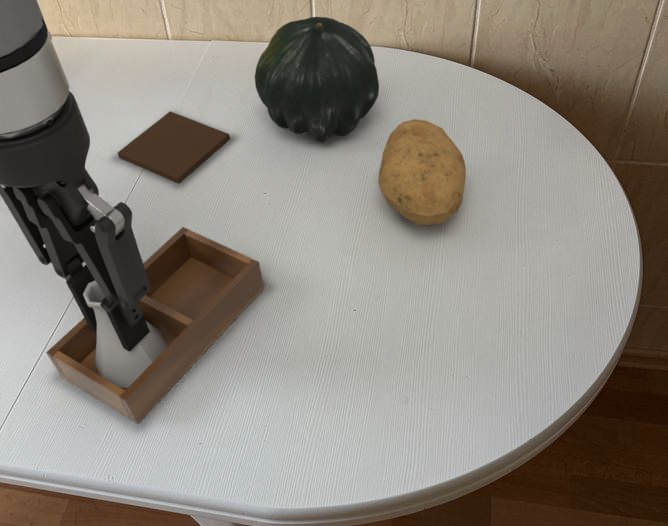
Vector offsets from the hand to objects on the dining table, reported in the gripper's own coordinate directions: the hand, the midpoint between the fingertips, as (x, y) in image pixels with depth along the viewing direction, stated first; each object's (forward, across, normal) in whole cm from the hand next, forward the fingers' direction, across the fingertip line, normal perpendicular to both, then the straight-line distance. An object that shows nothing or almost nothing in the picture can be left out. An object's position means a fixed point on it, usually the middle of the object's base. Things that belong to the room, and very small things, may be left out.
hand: (120, 330), depth 64 cm
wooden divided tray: (+5, 0, -5) cm, 7 cm away
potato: (+5, -13, -34) cm, 36 cm away
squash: (+5, +6, -42) cm, 42 cm away
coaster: (+5, +19, -28) cm, 34 cm away
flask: (+5, 0, 0) cm, 5 cm away
